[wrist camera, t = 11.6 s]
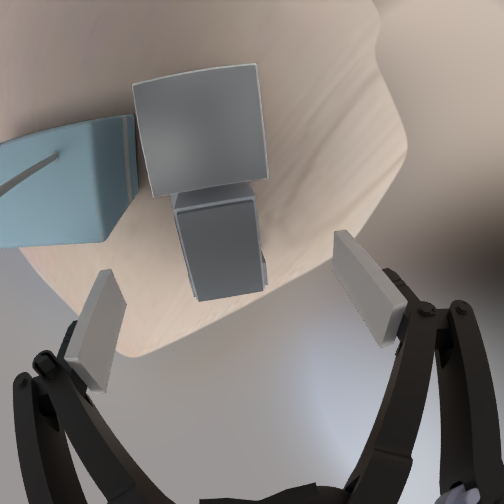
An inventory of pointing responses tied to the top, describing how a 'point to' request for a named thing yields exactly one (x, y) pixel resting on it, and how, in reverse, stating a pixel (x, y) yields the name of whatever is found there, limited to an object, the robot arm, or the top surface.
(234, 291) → the block
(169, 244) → the top surface
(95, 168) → the radio
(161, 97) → the block
